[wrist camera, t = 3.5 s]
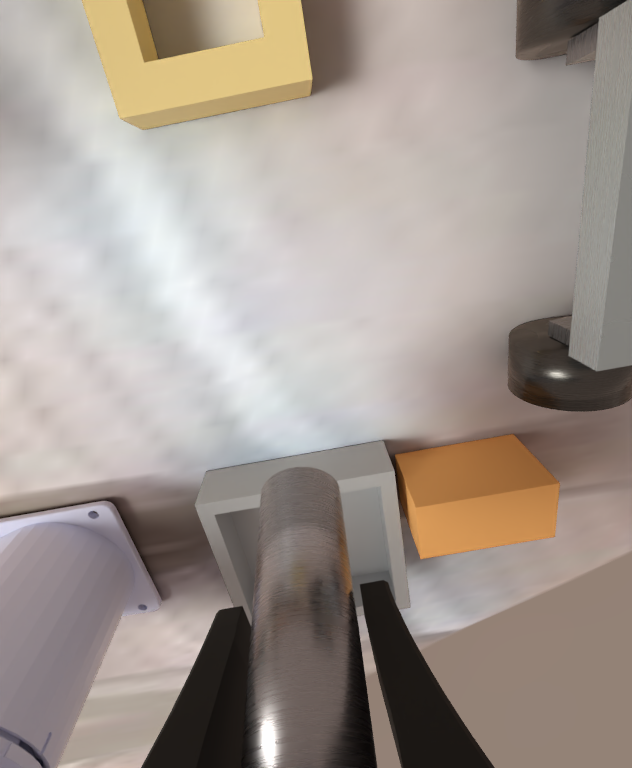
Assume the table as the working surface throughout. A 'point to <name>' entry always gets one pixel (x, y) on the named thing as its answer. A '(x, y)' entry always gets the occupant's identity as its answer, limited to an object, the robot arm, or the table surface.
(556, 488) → the block
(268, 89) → the socket block
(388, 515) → the tray
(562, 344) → the toy wheeled cart
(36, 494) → the table surface
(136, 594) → the robot arm
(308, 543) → the pin
